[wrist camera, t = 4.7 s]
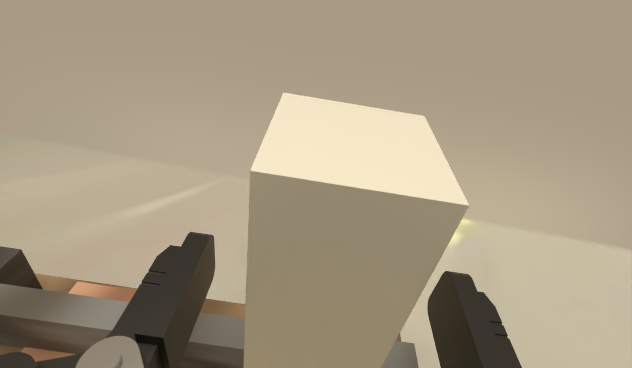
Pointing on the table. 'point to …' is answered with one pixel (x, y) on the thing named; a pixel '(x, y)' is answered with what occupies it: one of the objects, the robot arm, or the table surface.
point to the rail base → (114, 319)
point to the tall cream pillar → (342, 232)
